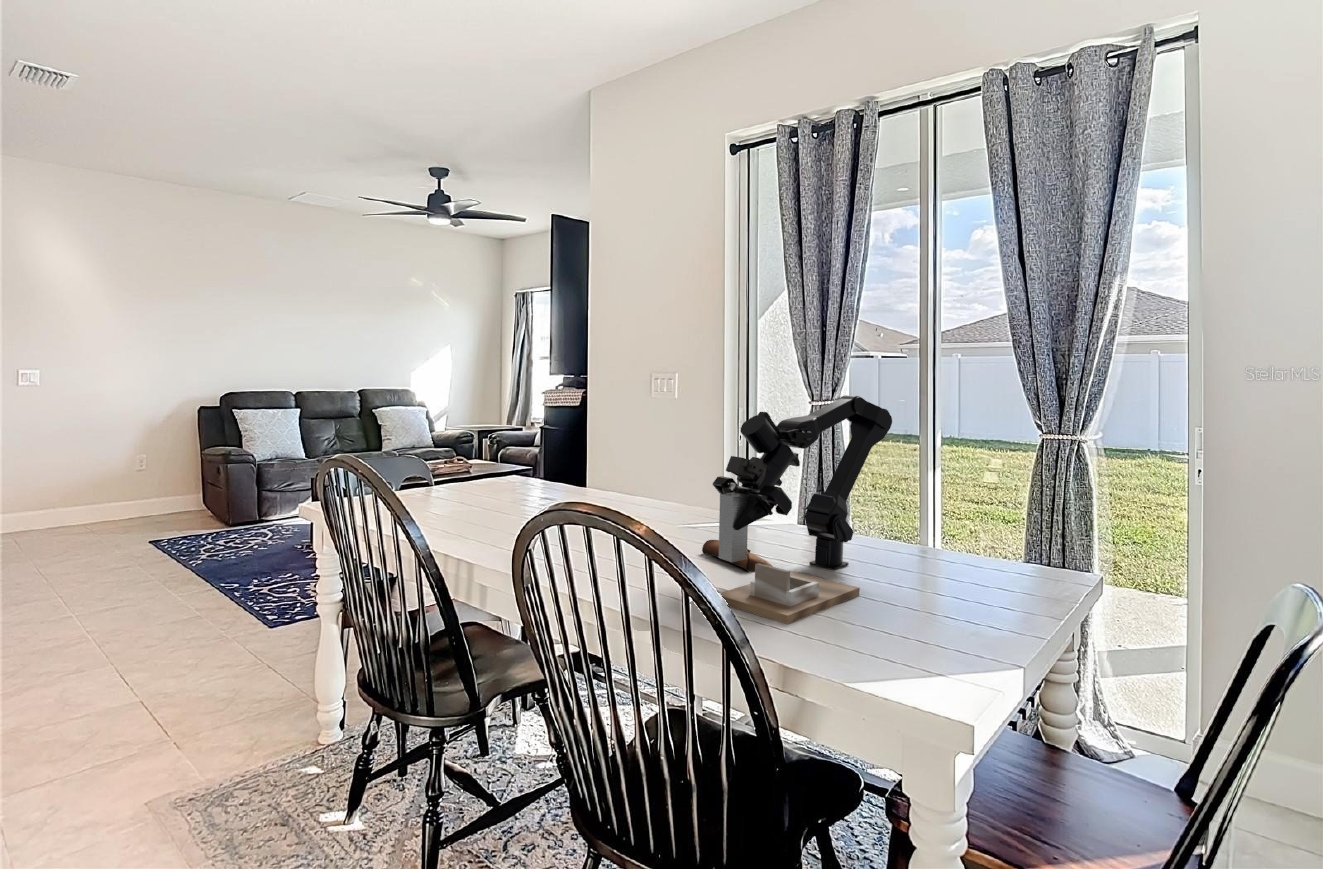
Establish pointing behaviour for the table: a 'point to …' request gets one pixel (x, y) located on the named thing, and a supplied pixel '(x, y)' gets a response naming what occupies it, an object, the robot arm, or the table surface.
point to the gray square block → (732, 527)
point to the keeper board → (787, 594)
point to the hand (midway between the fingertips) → (728, 526)
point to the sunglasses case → (749, 564)
